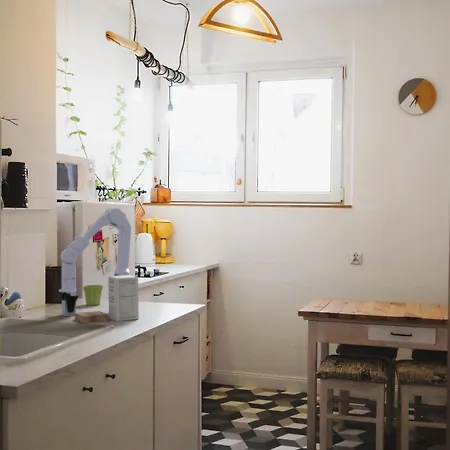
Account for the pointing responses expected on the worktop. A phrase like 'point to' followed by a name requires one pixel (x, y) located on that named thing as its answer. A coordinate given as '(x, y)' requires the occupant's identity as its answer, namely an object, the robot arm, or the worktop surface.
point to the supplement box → (123, 297)
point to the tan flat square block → (91, 317)
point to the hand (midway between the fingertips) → (68, 311)
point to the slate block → (65, 311)
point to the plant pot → (93, 294)
